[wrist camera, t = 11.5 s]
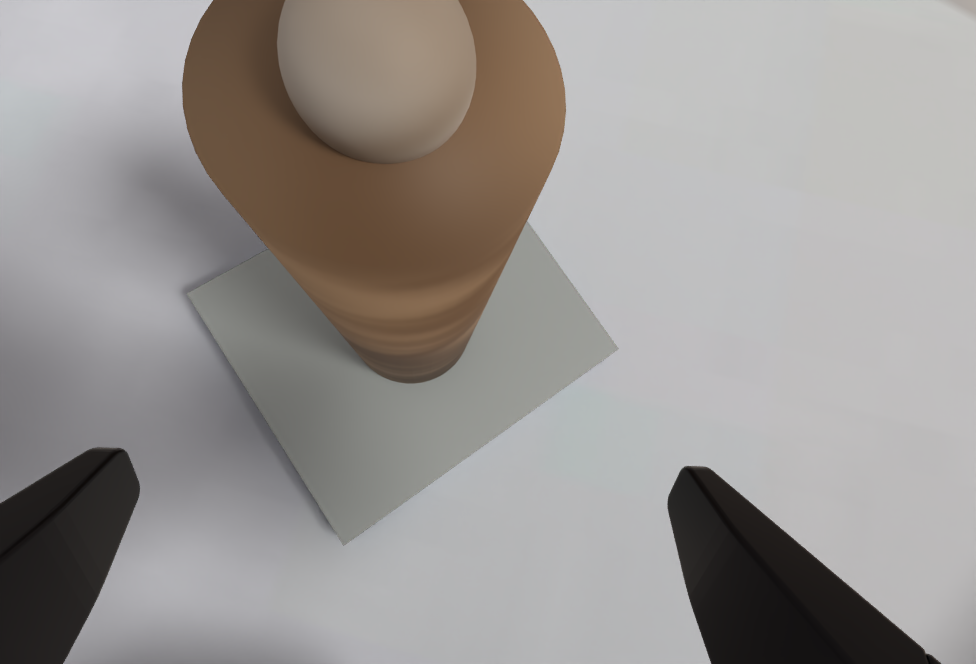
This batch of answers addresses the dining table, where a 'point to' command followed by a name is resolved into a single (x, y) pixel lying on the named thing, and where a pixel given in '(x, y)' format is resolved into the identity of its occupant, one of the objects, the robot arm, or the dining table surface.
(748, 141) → the dining table surface
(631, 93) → the dining table surface
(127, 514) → the robot arm
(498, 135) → the pepper mill
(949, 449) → the dining table surface
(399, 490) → the slate board
